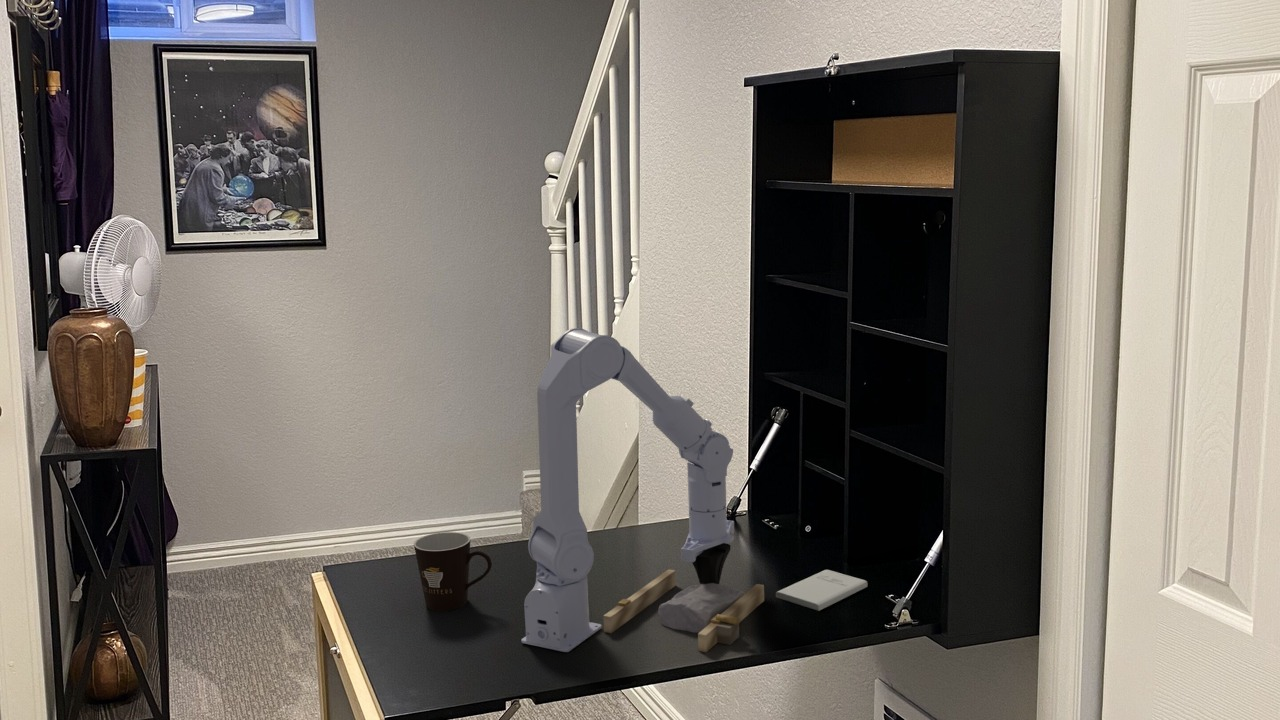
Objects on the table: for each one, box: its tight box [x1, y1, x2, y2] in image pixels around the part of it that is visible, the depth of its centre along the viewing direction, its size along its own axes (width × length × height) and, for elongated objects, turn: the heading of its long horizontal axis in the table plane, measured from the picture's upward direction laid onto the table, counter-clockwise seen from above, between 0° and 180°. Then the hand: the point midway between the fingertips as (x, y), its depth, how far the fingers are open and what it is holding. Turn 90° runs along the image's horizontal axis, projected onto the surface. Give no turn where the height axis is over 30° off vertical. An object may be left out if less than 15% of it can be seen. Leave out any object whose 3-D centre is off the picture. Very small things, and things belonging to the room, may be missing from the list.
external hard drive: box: [775, 569, 868, 612], centre depth 180 cm, size 2×8×12 cm
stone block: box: [657, 583, 745, 634], centre depth 173 cm, size 12×5×10 cm
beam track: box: [603, 569, 765, 653], centre depth 172 cm, size 20×19×4 cm
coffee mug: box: [413, 531, 493, 612], centre depth 180 cm, size 12×9×10 cm
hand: (709, 591), depth 180 cm, fingers closed
